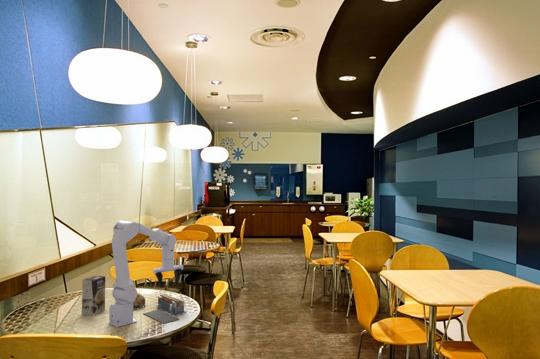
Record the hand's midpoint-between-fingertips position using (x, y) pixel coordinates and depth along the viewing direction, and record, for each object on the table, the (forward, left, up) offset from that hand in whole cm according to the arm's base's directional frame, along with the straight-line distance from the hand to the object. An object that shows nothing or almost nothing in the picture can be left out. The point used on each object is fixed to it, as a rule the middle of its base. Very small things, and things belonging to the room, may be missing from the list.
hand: (168, 285), depth 198 cm
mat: (-10, -10, -10) cm, 18 cm away
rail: (-2, -5, -7) cm, 8 cm away
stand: (-2, -5, -10) cm, 11 cm away
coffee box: (-29, +18, -11) cm, 36 cm away
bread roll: (-11, +13, -11) cm, 20 cm away
